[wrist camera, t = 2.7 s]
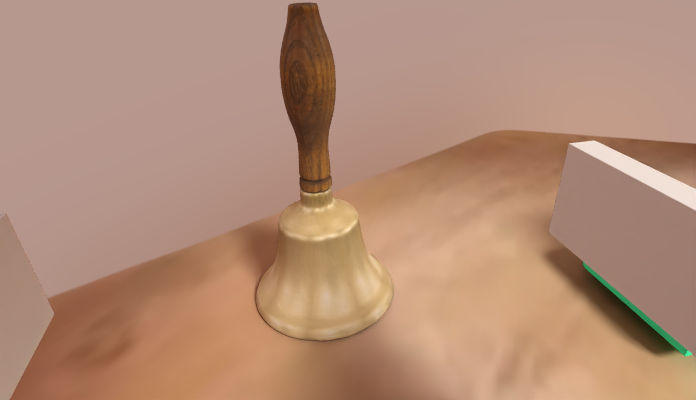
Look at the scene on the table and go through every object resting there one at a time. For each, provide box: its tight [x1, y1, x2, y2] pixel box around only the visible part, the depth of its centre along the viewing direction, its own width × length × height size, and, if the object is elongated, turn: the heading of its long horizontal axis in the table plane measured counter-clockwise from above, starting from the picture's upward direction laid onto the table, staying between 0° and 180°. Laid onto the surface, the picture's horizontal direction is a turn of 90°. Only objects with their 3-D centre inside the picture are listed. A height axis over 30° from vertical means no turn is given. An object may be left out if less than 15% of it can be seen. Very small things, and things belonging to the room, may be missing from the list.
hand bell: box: [256, 3, 394, 341], centre depth 22 cm, size 8×8×16 cm
